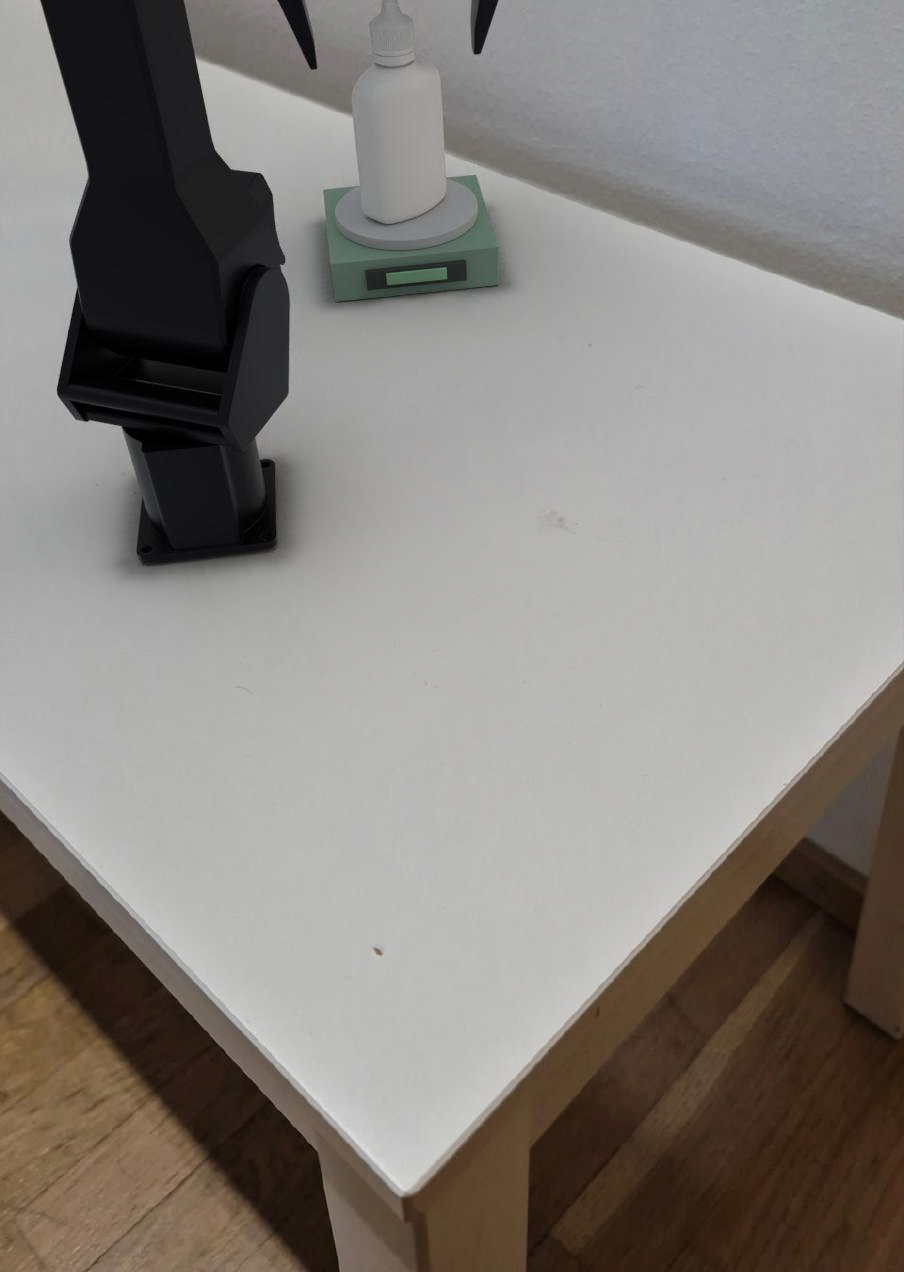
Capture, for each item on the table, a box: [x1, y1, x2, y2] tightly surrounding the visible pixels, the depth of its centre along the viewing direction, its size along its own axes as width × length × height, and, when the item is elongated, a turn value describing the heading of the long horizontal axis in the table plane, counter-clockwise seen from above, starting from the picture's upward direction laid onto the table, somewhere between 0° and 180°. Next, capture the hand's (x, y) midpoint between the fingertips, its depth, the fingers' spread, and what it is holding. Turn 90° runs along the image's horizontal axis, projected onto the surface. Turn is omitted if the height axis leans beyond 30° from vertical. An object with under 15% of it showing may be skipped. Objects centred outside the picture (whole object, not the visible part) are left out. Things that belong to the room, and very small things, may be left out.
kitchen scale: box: [323, 174, 500, 303], centre depth 72 cm, size 10×10×3 cm
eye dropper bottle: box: [351, 0, 447, 224], centre depth 67 cm, size 4×6×12 cm
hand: (395, 59), depth 65 cm, fingers open, 9 cm apart
